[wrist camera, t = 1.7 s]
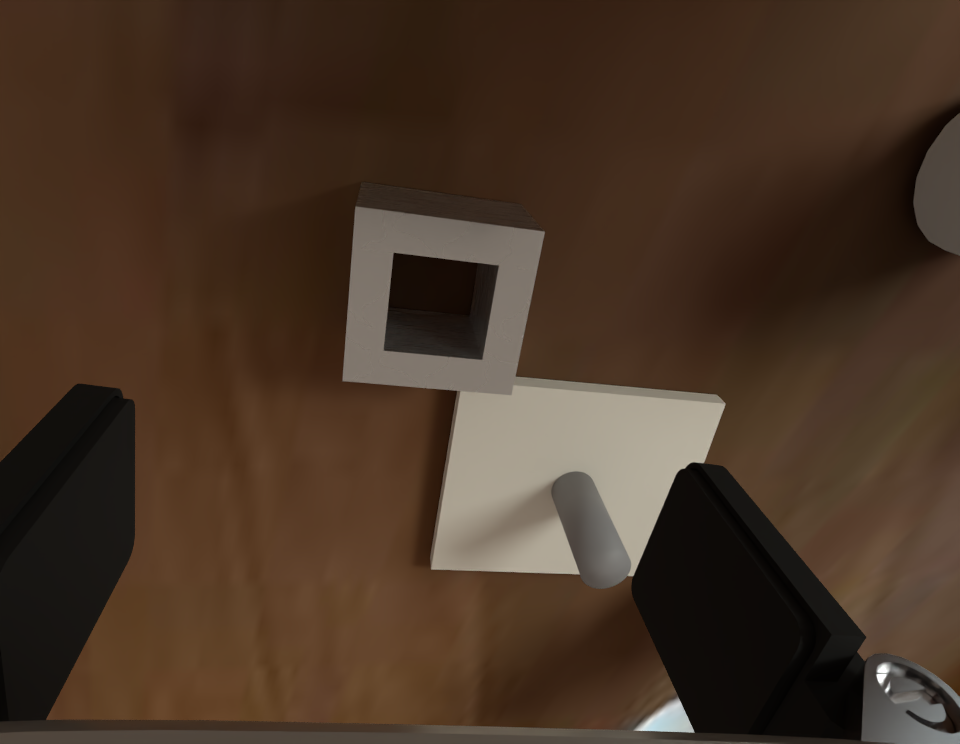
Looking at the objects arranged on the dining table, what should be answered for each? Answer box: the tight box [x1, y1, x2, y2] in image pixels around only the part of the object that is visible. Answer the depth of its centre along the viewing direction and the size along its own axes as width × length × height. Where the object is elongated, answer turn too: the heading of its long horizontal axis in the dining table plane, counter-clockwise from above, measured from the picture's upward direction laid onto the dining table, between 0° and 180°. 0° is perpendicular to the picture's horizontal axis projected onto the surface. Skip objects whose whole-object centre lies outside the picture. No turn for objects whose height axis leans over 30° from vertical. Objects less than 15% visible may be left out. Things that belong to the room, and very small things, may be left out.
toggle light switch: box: [430, 377, 725, 589], centre depth 32 cm, size 14×12×7 cm
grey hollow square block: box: [343, 182, 545, 395], centre depth 27 cm, size 7×7×5 cm
